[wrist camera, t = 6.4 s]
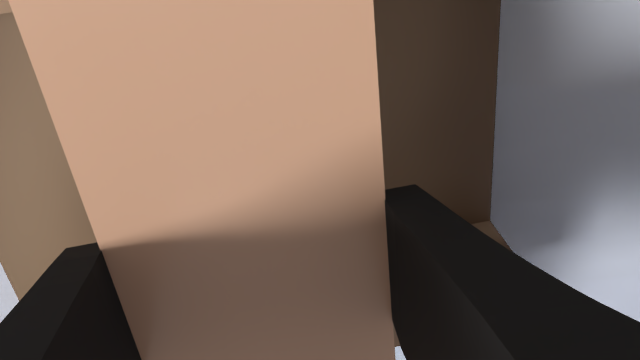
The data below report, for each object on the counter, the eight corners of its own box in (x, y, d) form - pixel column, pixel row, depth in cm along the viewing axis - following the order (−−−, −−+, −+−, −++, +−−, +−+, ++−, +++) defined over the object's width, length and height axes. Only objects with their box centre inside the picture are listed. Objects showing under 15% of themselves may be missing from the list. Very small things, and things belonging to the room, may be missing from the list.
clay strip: (372, 395, 15) (404, 511, 13) (212, 427, 15) (211, 552, 12) (306, -323, 8) (348, -396, 5) (-7, -289, 8) (-121, -349, 5)
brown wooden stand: (493, -218, 12) (575, -229, 9) (475, 267, 18) (521, 341, 15) (-167, -136, 11) (-284, -124, 8) (59, 349, 17) (34, 444, 14)
